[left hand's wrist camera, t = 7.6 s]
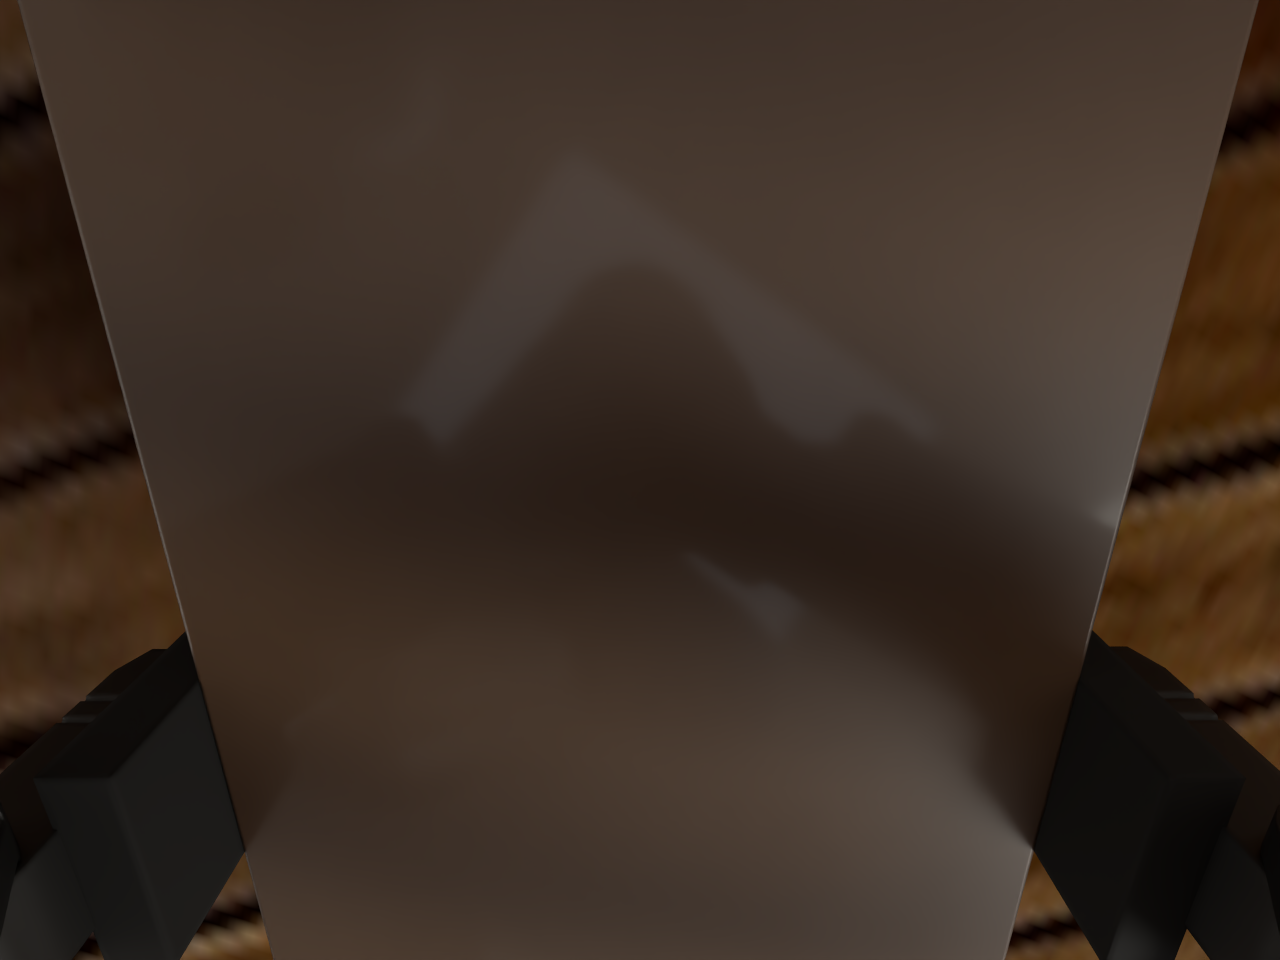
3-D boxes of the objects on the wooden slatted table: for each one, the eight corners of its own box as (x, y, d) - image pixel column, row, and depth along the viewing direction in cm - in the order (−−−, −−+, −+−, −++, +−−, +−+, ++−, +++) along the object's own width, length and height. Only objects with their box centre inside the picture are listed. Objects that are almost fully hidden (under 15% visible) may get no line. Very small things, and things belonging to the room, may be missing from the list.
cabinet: (389, -118, 15) (-232, -914, 4) (885, -118, 15) (1505, -906, 4) (463, 608, 21) (288, 1023, 11) (813, 607, 21) (991, 1020, 11)
